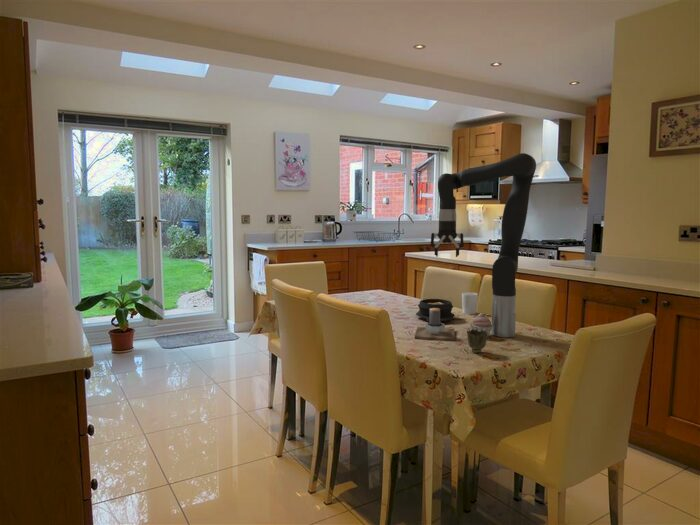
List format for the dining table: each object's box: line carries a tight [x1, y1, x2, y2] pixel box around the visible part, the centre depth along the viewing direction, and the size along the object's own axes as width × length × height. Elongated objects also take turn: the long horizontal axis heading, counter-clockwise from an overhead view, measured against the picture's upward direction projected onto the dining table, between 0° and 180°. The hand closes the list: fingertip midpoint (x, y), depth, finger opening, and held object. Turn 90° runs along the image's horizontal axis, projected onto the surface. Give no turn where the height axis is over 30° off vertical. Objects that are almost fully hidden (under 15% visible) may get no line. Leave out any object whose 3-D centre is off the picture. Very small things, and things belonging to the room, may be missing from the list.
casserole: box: [415, 298, 456, 322], centre depth 234 cm, size 25×19×8 cm
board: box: [414, 326, 456, 342], centre depth 204 cm, size 16×16×1 cm
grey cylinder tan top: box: [429, 308, 441, 326], centre depth 204 cm, size 4×4×10 cm
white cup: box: [461, 291, 479, 315], centre depth 246 cm, size 8×8×10 cm
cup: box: [466, 328, 488, 354], centre depth 179 cm, size 8×7×8 cm
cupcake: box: [469, 312, 493, 338], centre depth 202 cm, size 9×9×10 cm
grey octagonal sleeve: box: [425, 322, 446, 335], centre depth 204 cm, size 8×8×4 cm
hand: (446, 256), depth 214 cm, fingers open, 8 cm apart
